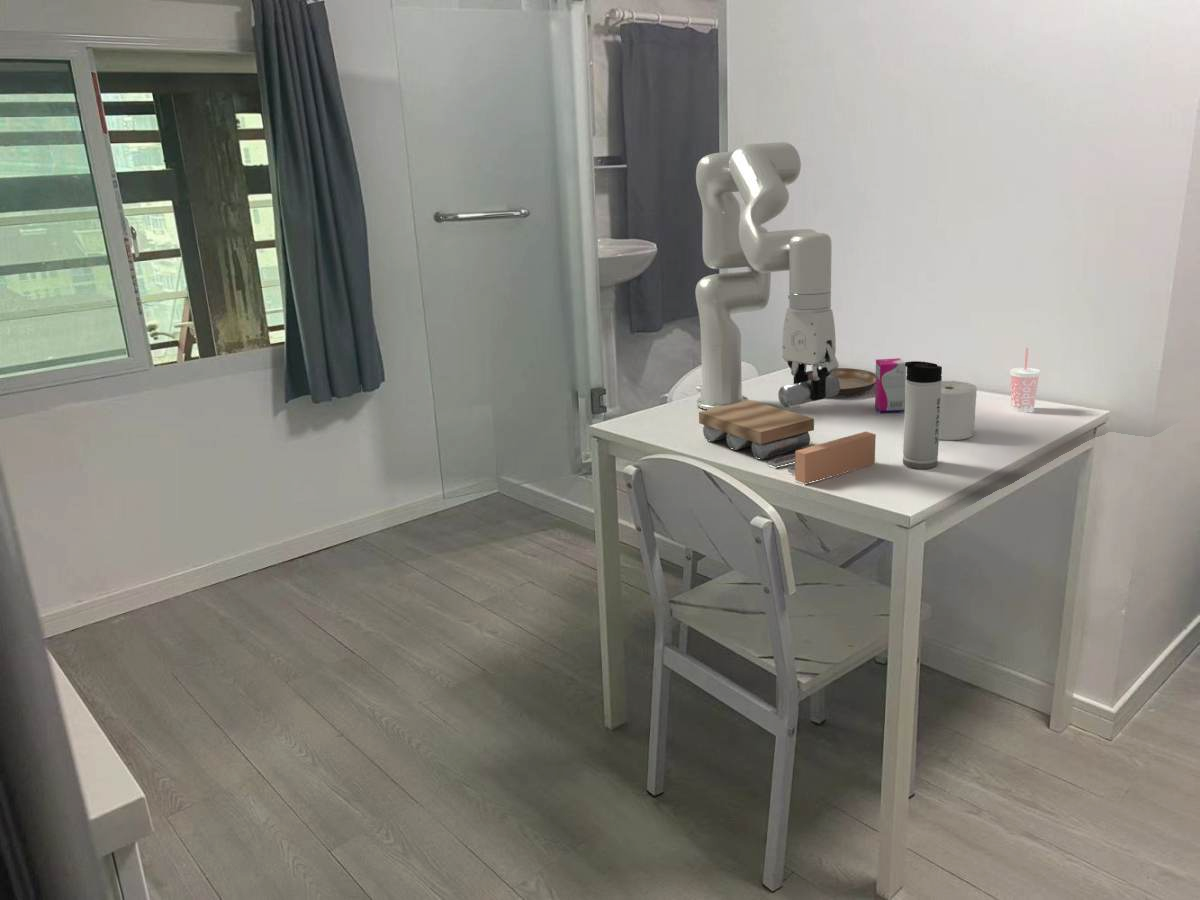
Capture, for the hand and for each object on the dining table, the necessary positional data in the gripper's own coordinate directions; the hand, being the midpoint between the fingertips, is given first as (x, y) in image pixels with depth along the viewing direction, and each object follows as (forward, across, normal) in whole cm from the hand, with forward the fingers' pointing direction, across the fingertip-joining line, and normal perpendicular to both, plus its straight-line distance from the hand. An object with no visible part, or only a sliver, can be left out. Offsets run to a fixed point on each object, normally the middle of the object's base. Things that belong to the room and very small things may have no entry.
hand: (809, 396), depth 176 cm
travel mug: (+14, +14, +15) cm, 25 cm away
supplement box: (+14, -16, +40) cm, 45 cm away
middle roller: (+13, -16, 0) cm, 21 cm away
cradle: (+13, 0, 0) cm, 13 cm away
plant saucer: (+14, -38, +45) cm, 61 cm away
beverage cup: (+14, +4, +60) cm, 62 cm away
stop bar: (+14, +7, 0) cm, 15 cm away
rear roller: (+13, -24, 0) cm, 28 cm away
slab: (+9, -16, 0) cm, 19 cm away
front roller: (+13, -8, 0) cm, 16 cm away
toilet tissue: (+14, +4, +34) cm, 37 cm away
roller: (+1, 0, 0) cm, 1 cm away
